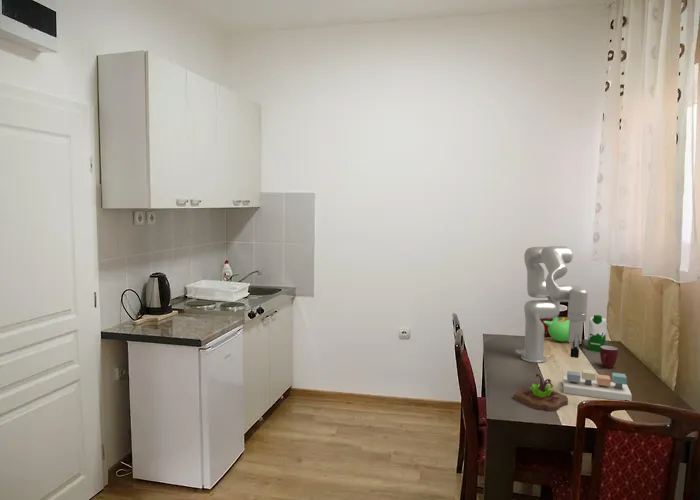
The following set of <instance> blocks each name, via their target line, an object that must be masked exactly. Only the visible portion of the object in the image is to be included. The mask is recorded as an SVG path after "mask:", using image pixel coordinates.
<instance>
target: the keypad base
mask: <svg viewBox="0 0 700 500" xmlns="http://www.w3.org/2000/svg"><path fill="white" fill-rule="evenodd" d="M562 388H563V389H562V390H563V393H564V394H569V395H570V394H571V395H577V396H584V397H591V398H598V399H606V400H614V401H620V400H629V401H631V402H632V396H633V394H632V393H631V390H630V388H629V386H628V384H626V385H625V384H622V389H616V388H615V383H613V381H611V386H607V388H606V387H600V385H598V384H597V381H596V379H595V381H593V380H592V382H591V385H585V379H582V377H580V382H576V384H575V383H570V381H567V375H563V376H562Z"/></svg>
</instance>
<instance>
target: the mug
mask: <svg viewBox="0 0 700 500" xmlns="http://www.w3.org/2000/svg"><path fill="white" fill-rule="evenodd" d="M599 355H600V362H601V365H602V366H603V368H607V369H612V368H613V367H614V365H616V362H617V359H618V355H619V347H615V346H611V345H605V346H600V352H599Z"/></svg>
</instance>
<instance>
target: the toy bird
mask: <svg viewBox="0 0 700 500" xmlns="http://www.w3.org/2000/svg"><path fill="white" fill-rule="evenodd" d="M567 318H568V317H559V316H558V317H556V318H552V320H551V321H550V320H543V322H542V323H543V324H545V325H546V326H547V331H548V334H549V336H550V337H551V339H554V340H556V341H558V342H569V340H568V334H569V322H570V320H568V319H567Z"/></svg>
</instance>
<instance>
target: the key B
mask: <svg viewBox="0 0 700 500" xmlns="http://www.w3.org/2000/svg"><path fill="white" fill-rule="evenodd" d="M581 378H582V379H585V385H591V382H592V380H593V381H595V380H596V378H597V374H596V371H595V369H593V370H592V369H584V368H582V369H581Z"/></svg>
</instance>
